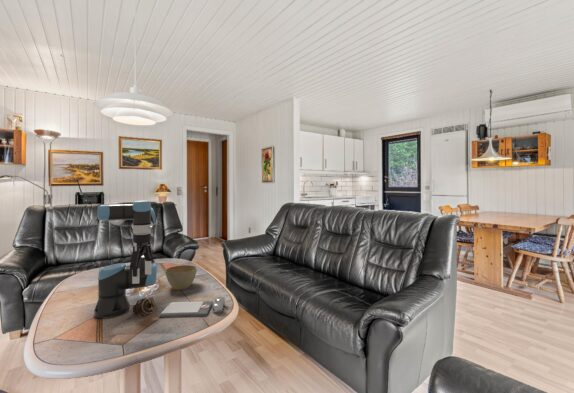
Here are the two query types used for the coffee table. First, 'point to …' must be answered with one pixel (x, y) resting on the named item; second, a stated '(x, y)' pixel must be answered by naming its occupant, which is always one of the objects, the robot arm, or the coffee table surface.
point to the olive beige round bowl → (181, 276)
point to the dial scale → (186, 309)
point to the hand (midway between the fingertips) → (142, 278)
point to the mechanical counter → (144, 307)
